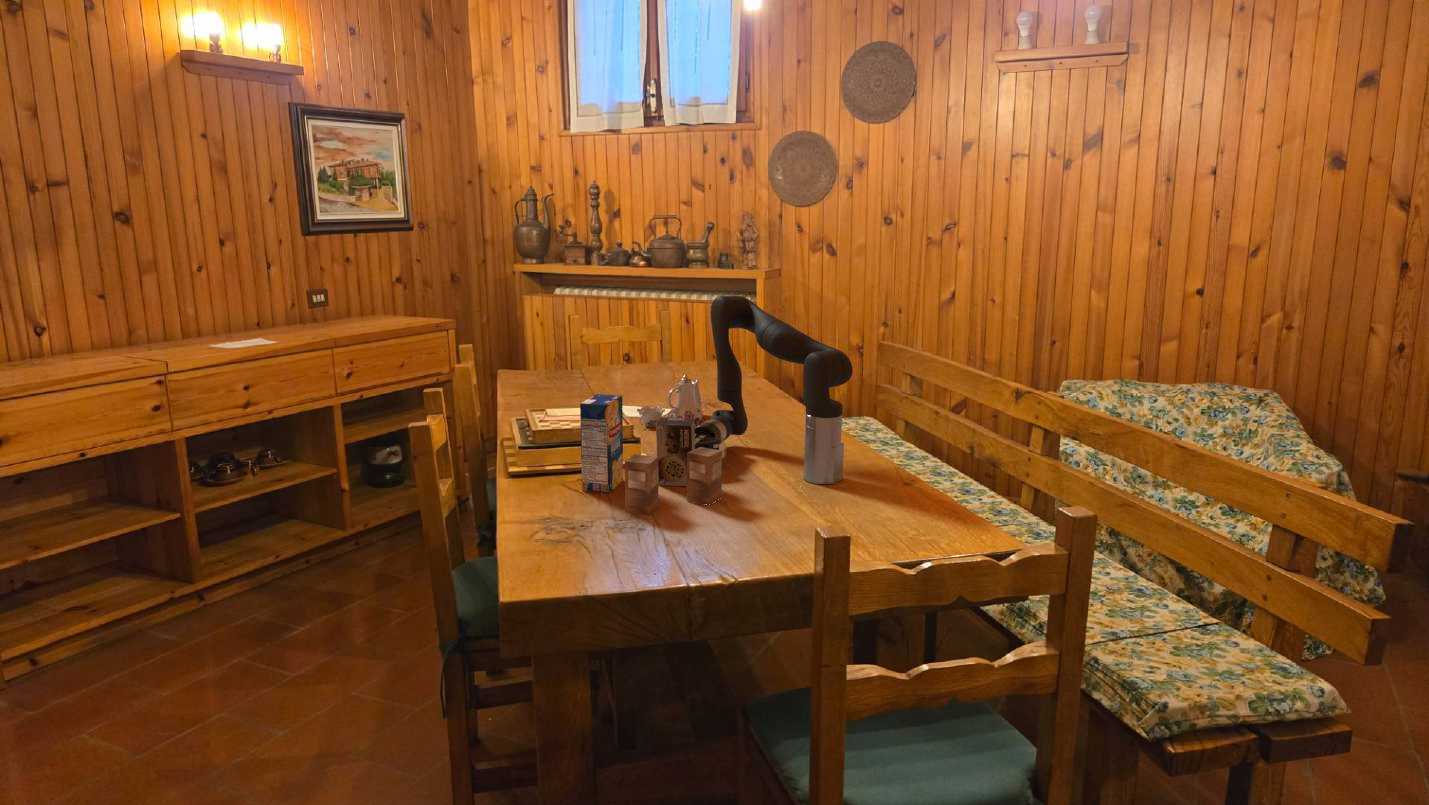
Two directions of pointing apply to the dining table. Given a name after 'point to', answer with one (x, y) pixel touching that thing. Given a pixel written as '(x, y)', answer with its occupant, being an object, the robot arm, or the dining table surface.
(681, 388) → the chinaware
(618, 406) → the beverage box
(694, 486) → the marked block 2
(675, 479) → the coffee box
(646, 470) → the marked block 1
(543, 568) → the dining table surface
